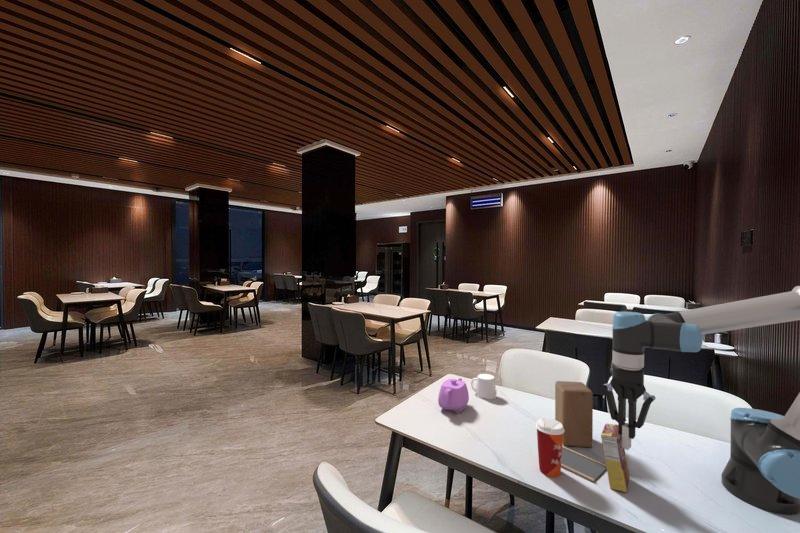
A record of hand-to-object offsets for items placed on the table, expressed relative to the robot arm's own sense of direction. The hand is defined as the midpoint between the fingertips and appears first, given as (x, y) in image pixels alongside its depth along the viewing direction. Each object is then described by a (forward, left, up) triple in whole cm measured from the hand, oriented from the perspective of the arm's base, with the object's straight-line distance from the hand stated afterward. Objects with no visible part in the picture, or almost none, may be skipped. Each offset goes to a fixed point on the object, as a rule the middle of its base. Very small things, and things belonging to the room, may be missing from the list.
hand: (626, 447), depth 96 cm
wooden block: (+21, -14, -12) cm, 28 cm away
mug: (+67, -21, -12) cm, 71 cm away
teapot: (+67, 0, -12) cm, 68 cm away
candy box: (+2, 0, -12) cm, 12 cm away
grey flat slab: (+15, 0, -12) cm, 19 cm away
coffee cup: (+18, +10, -12) cm, 23 cm away
